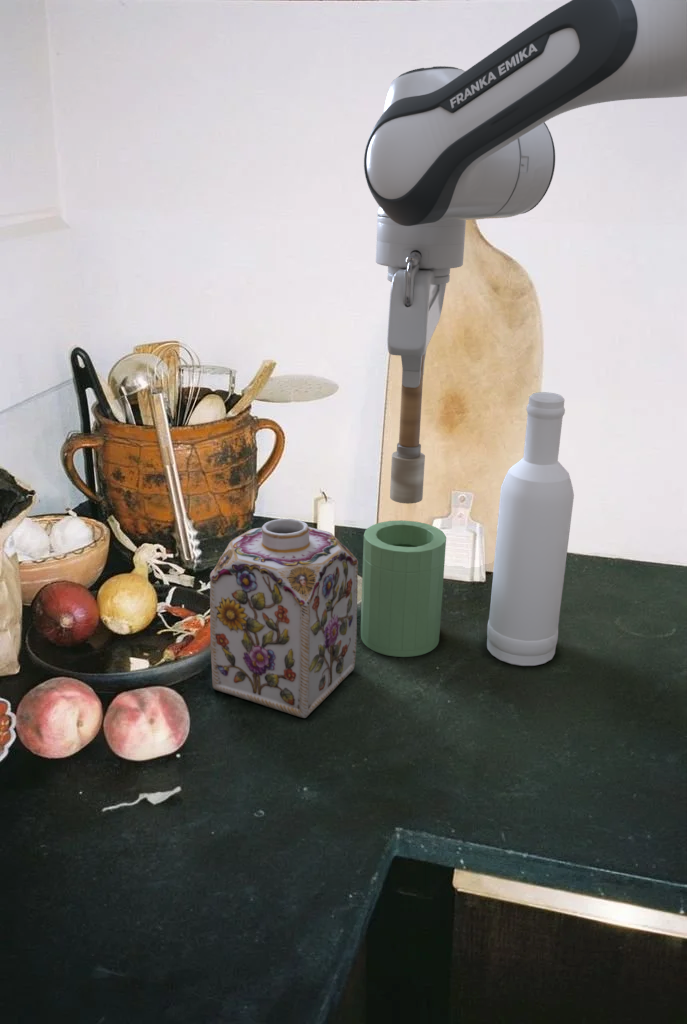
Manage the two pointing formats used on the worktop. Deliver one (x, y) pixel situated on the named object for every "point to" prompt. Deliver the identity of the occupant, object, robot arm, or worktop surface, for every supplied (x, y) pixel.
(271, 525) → the decorative jar
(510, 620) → the bottle
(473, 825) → the worktop surface
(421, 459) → the brush
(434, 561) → the green pen holder
